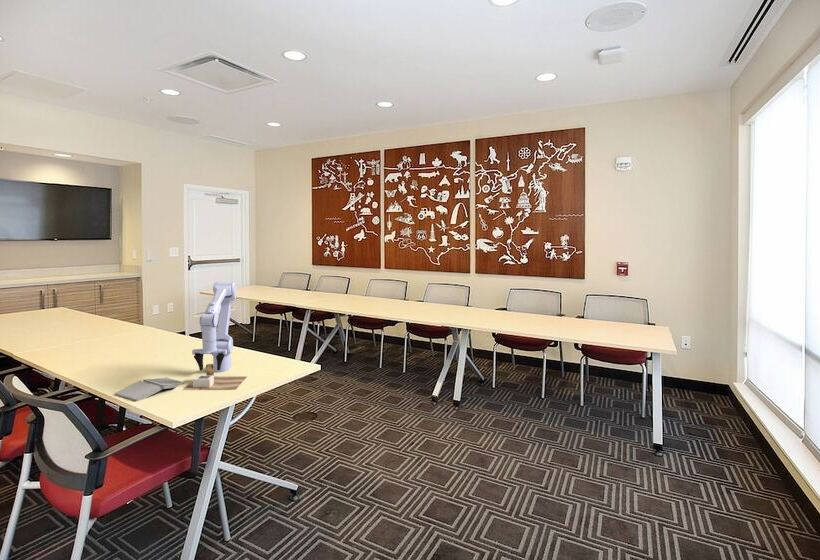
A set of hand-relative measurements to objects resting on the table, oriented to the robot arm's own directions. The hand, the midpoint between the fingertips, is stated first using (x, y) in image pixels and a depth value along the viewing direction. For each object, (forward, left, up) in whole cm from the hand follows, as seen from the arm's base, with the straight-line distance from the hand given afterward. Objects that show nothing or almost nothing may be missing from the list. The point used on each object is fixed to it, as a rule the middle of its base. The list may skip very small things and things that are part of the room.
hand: (210, 369), depth 203 cm
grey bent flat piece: (+9, -21, -7) cm, 24 cm away
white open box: (+7, 0, -5) cm, 9 cm away
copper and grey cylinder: (0, 0, -5) cm, 5 cm away
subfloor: (+4, +4, -6) cm, 8 cm away
